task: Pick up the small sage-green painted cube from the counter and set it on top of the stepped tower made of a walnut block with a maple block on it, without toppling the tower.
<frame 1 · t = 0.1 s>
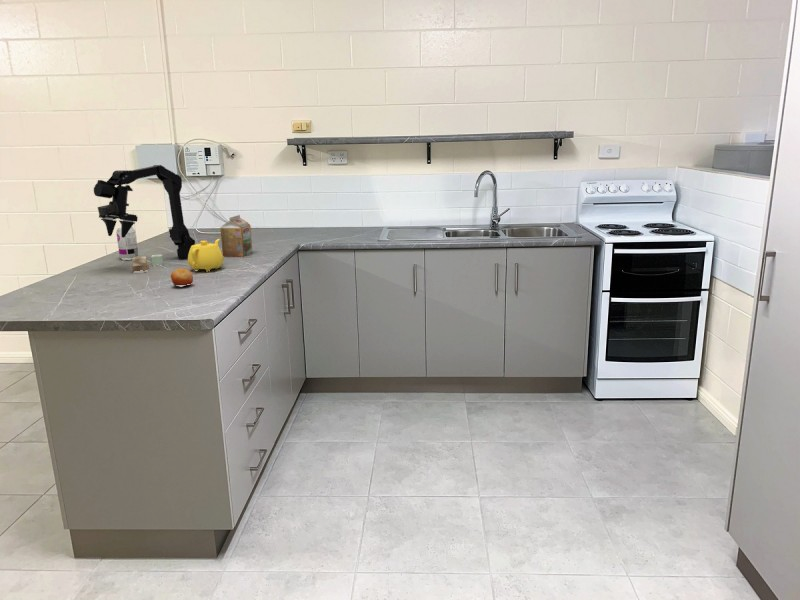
hand: (116, 236, 261), 15 cm above the worktop, tool pointing down, fingers open, 9 cm apart
sage cube: (157, 265, 278), on the worktop
teapot: (208, 269, 268), on the worktop
milk carton: (238, 255, 299), on the worktop
supplement can: (129, 259, 293), on the worktop
maple block: (140, 264, 264), point 3 cm above the worktop
fruit: (182, 286, 238), on the worktop
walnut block: (141, 272, 265), on the worktop
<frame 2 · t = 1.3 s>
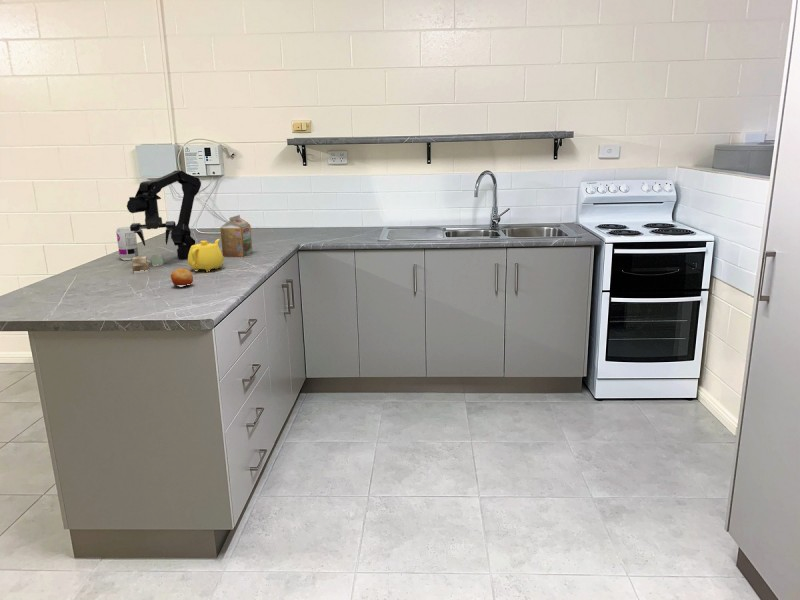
hand: (155, 245, 276), 9 cm above the worktop, tool pointing down, fingers open, 9 cm apart
nothing on the worktop moved.
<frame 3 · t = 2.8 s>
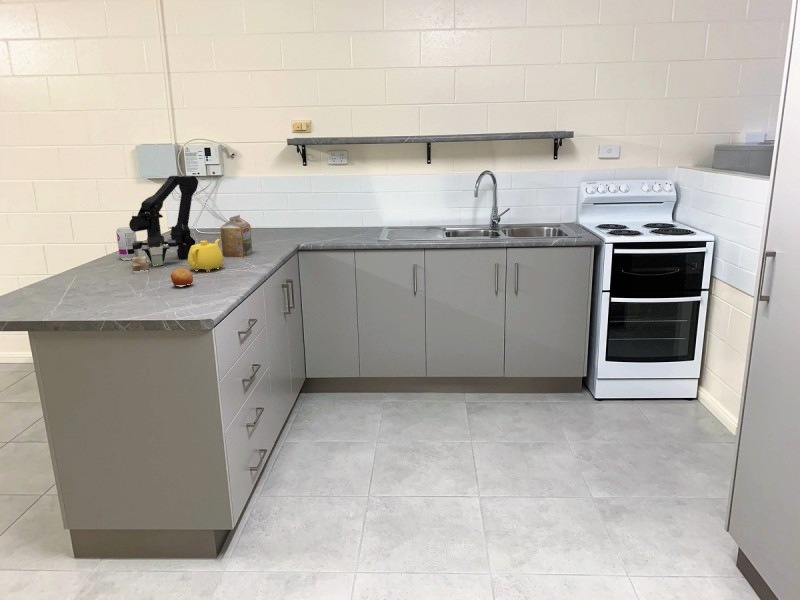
hand: (157, 262, 278), 1 cm above the worktop, tool pointing down, fingers closed on sage cube, 4 cm apart
sage cube: (157, 265, 278), on the worktop, touching gripper
maple block: (140, 264, 264), point 3 cm above the worktop, touching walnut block
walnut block: (141, 272, 265), on the worktop, touching maple block
everything else where it was.
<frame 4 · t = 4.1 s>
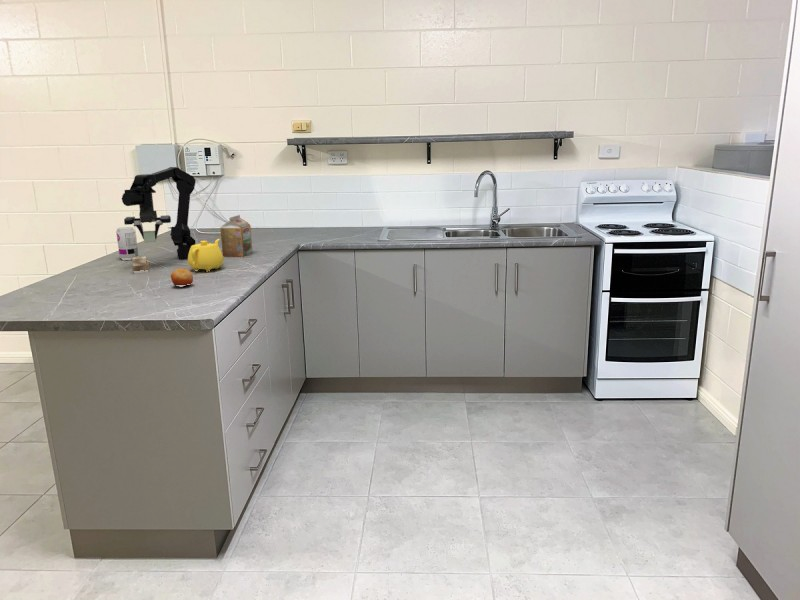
hand: (150, 239, 272), 12 cm above the worktop, tool pointing down, fingers closed on sage cube, 4 cm apart
sage cube: (150, 241, 272), point 11 cm above the worktop, touching gripper
everything else where it was.
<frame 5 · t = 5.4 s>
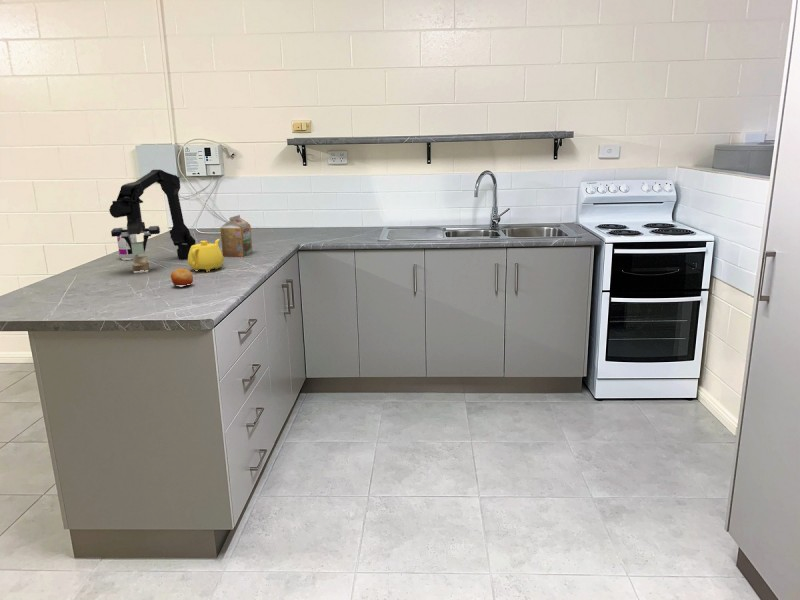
hand: (138, 251, 262), 9 cm above the worktop, tool pointing down, fingers closed on sage cube, 4 cm apart
sage cube: (138, 253, 263), point 8 cm above the worktop, touching gripper
everything else where it was.
when the fingers open (9 cm above the worktop, at t = 5.8 s): sage cube drops 2 cm, resting on maple block.
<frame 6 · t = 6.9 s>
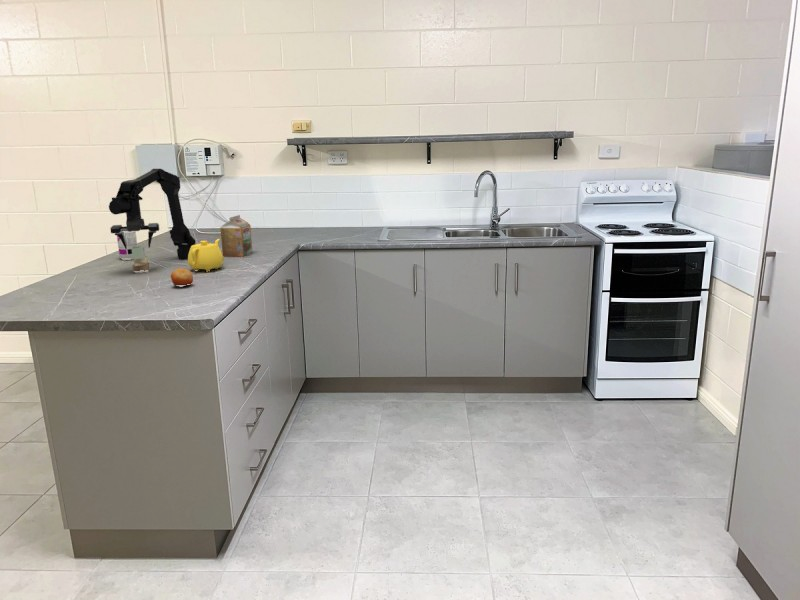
hand: (137, 248, 262), 10 cm above the worktop, tool pointing down, fingers open, 9 cm apart
sage cube: (139, 257, 263), point 6 cm above the worktop, touching maple block
maple block: (141, 264, 264), point 3 cm above the worktop, touching sage cube, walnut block
everything else where it was.
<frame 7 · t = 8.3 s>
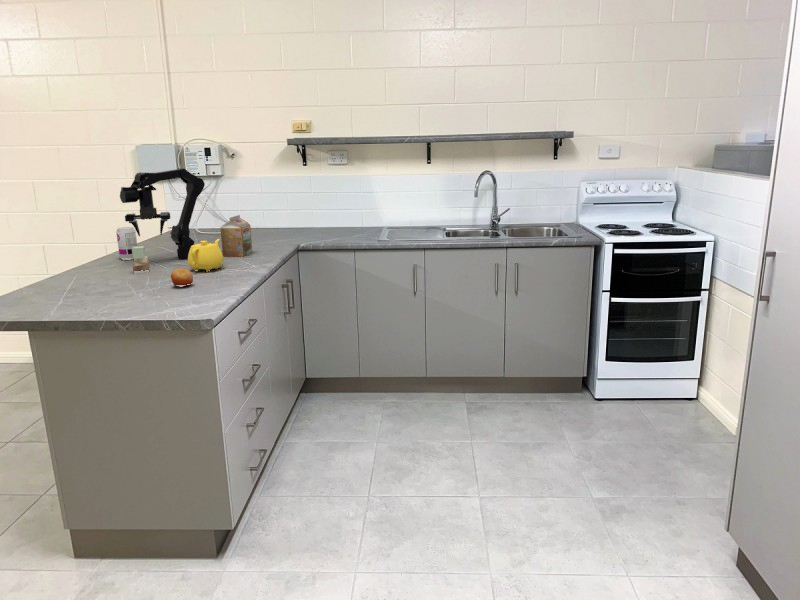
hand: (150, 235, 278), 13 cm above the worktop, tool pointing down, fingers open, 9 cm apart
nothing on the worktop moved.
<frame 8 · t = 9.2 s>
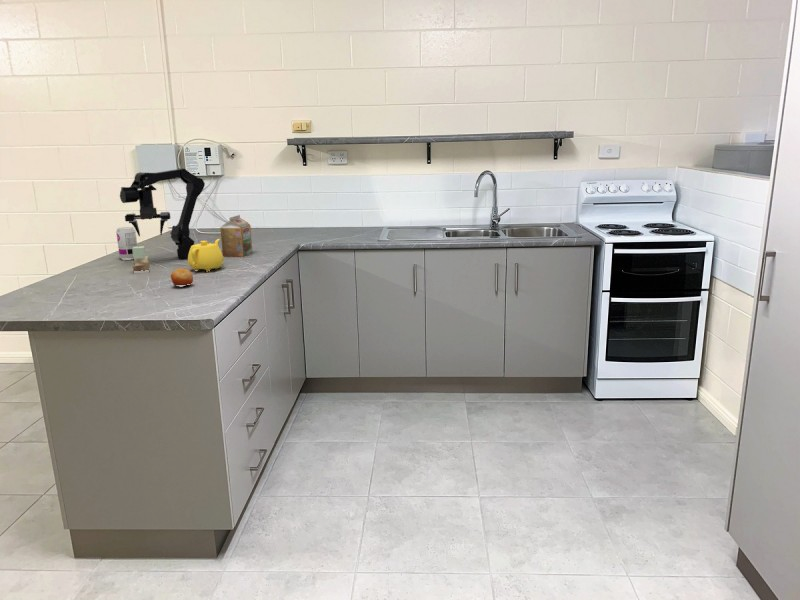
hand: (150, 235, 278), 13 cm above the worktop, tool pointing down, fingers open, 9 cm apart
sage cube: (139, 257, 263), point 6 cm above the worktop
maple block: (142, 264, 264), point 3 cm above the worktop, touching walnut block
everything else where it was.
at the end: sage cube 0.5 cm off-centre on the maple block, point 3.0 cm above the maple block's base; maple block 0.4 cm off-centre on the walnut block, point 3.5 cm above the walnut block's base; maple block tilted 0° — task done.
